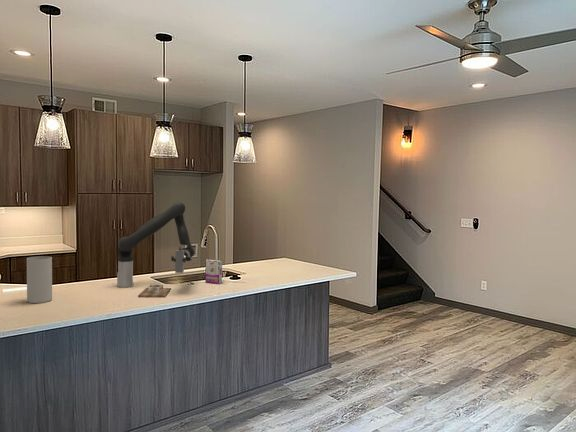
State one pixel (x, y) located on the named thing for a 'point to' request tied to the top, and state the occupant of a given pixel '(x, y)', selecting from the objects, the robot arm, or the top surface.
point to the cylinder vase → (39, 279)
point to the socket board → (155, 291)
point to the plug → (179, 261)
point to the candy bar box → (213, 271)
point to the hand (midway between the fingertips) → (179, 260)
